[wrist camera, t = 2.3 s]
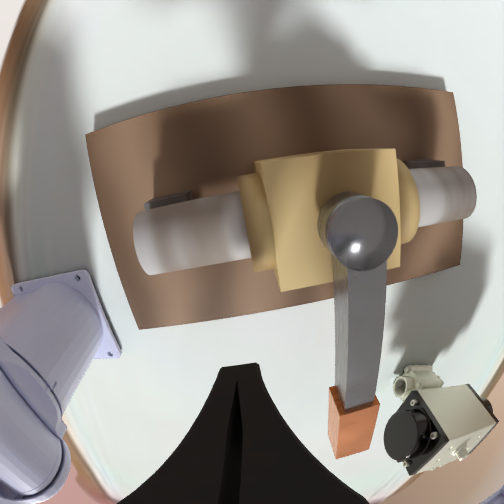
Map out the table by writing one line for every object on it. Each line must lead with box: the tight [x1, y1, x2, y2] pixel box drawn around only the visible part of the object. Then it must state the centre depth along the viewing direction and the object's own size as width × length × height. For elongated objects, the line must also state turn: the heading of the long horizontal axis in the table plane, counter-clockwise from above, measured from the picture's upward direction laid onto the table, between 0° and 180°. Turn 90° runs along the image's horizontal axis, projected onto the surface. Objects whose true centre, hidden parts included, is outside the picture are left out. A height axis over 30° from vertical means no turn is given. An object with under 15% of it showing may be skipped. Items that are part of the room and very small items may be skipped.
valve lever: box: [317, 191, 398, 459], centre depth 12 cm, size 15×3×2 cm, turn 9°
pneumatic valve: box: [384, 365, 499, 475], centre depth 19 cm, size 6×12×12 cm, turn 76°
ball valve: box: [85, 84, 477, 330], centre depth 15 cm, size 26×14×7 cm, turn 99°
